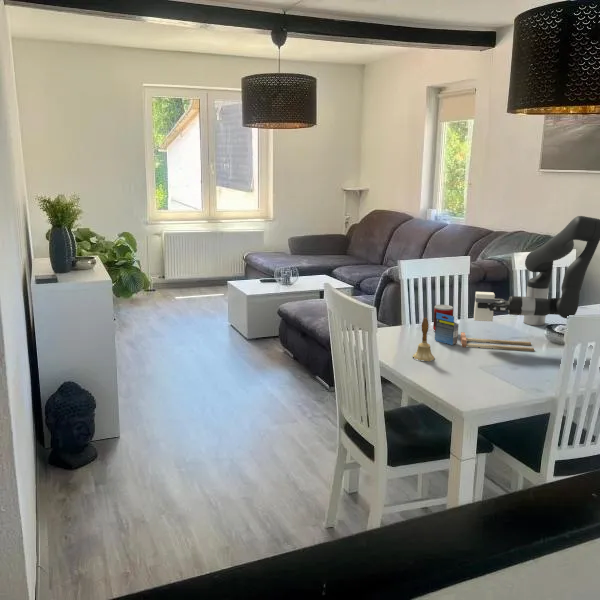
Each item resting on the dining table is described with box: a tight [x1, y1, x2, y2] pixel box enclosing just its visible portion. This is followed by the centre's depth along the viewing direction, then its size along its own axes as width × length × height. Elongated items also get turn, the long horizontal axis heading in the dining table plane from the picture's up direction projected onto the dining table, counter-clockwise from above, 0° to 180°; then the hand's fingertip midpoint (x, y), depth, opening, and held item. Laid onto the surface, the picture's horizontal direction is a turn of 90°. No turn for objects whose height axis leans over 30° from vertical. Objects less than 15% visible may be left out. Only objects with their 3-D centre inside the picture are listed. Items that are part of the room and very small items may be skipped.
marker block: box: [473, 291, 496, 322], centre depth 242 cm, size 5×7×11 cm, turn 79°
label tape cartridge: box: [434, 312, 459, 346], centre depth 247 cm, size 9×4×12 cm, turn 43°
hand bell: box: [412, 317, 435, 362], centre depth 228 cm, size 8×8×16 cm
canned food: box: [432, 304, 454, 331], centre depth 263 cm, size 8×8×11 cm
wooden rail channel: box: [459, 331, 535, 352], centre depth 244 cm, size 11×28×3 cm, turn 79°
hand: (477, 303), depth 242 cm, fingers closed on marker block, 4 cm apart
